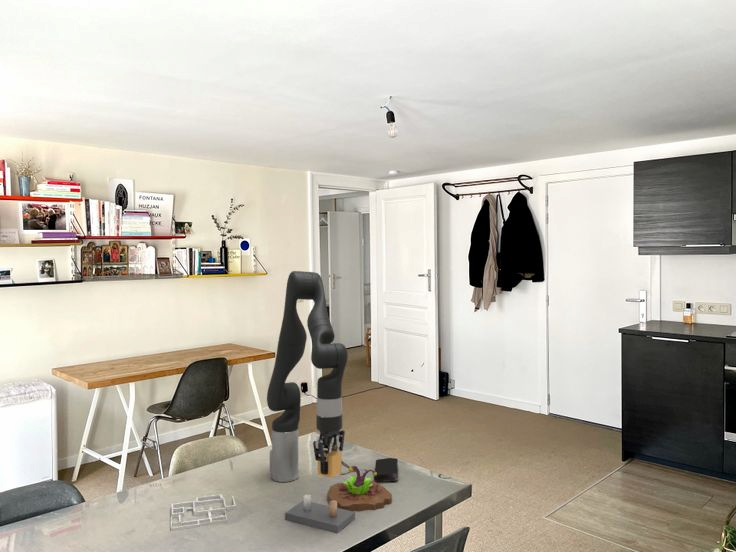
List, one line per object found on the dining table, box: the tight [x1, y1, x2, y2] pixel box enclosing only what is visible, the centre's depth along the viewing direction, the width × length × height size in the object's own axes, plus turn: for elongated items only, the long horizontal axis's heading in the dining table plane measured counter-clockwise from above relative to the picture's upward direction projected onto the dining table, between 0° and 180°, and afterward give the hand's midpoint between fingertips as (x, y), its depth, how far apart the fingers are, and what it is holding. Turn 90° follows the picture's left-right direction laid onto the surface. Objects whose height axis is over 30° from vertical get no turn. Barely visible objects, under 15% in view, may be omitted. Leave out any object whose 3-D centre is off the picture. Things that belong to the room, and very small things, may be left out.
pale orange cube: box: [317, 448, 342, 479], centre depth 164 cm, size 5×5×6 cm
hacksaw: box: [340, 459, 368, 476], centre depth 212 cm, size 24×10×2 cm, turn 28°
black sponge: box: [373, 457, 399, 483], centre depth 202 cm, size 16×8×4 cm, turn 177°
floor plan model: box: [170, 493, 237, 532], centre depth 174 cm, size 19×25×2 cm
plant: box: [326, 465, 393, 512], centre depth 181 cm, size 20×20×11 cm
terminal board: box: [284, 494, 356, 534], centre depth 167 cm, size 18×10×6 cm, turn 63°
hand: (329, 470), depth 164 cm, fingers closed on pale orange cube, 5 cm apart
